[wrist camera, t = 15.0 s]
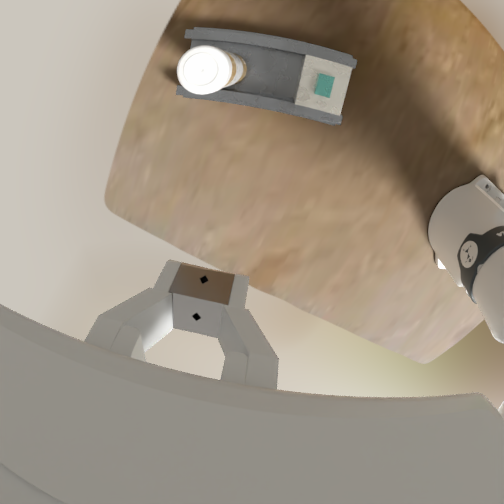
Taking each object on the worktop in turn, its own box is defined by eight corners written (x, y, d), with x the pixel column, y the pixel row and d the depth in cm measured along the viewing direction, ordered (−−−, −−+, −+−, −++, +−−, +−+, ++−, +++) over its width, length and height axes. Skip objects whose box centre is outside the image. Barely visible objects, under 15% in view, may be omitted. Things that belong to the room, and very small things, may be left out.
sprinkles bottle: (204, 66, 31) (165, 67, 20) (234, 46, 29) (207, 34, 18) (225, 92, 33) (196, 105, 22) (255, 73, 31) (239, 74, 20)
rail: (351, 55, 29) (367, 53, 23) (333, 124, 35) (344, 137, 29) (196, 27, 29) (175, 19, 22) (185, 96, 34) (163, 103, 28)
